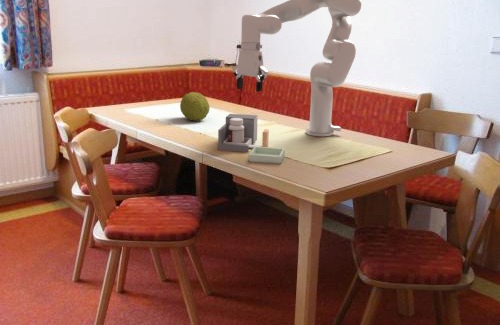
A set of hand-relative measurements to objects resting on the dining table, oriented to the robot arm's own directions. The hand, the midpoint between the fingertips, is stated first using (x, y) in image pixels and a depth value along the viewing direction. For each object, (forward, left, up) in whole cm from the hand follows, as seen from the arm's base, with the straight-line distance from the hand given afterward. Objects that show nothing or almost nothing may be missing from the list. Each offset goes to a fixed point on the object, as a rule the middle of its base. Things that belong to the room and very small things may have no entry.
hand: (249, 90), depth 197 cm
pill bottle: (+3, +11, -22) cm, 24 cm away
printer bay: (+3, +7, -21) cm, 23 cm away
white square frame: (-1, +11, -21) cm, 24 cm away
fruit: (+34, -34, -22) cm, 53 cm away
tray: (-12, +24, -21) cm, 34 cm away
